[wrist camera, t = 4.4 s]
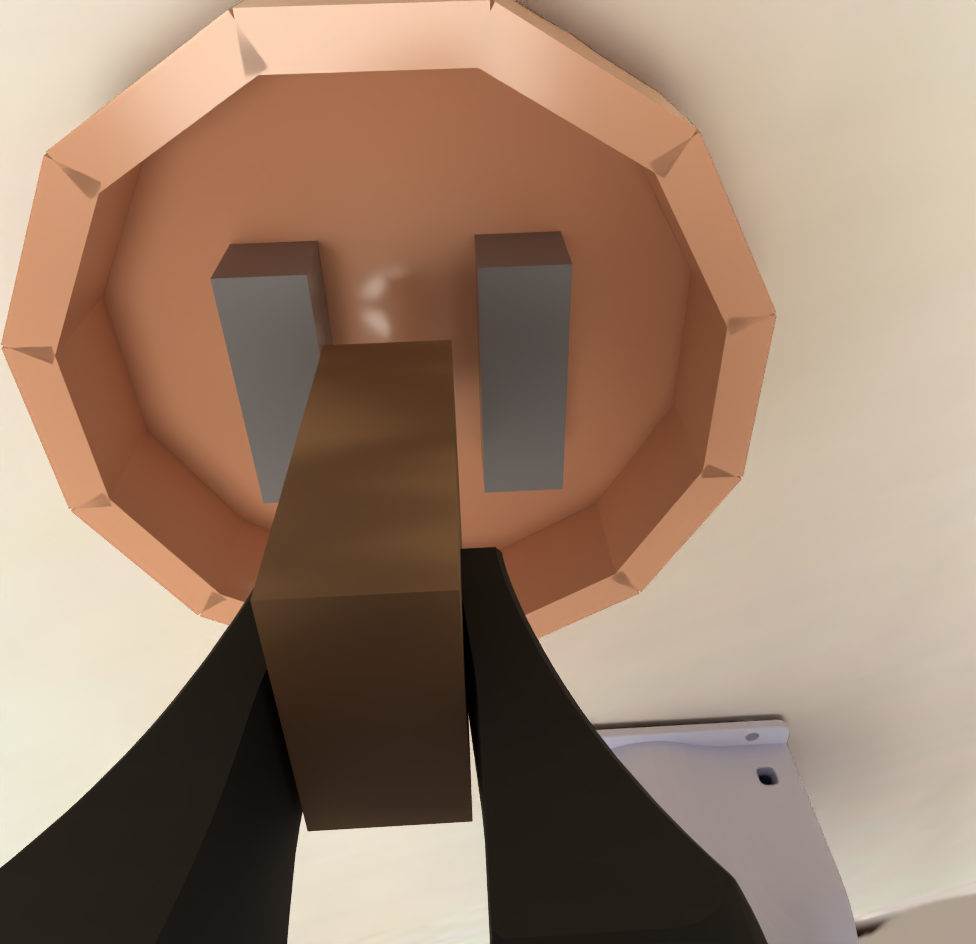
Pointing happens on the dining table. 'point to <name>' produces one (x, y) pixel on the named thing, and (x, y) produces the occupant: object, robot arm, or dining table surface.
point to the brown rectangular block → (371, 593)
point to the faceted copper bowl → (391, 291)
